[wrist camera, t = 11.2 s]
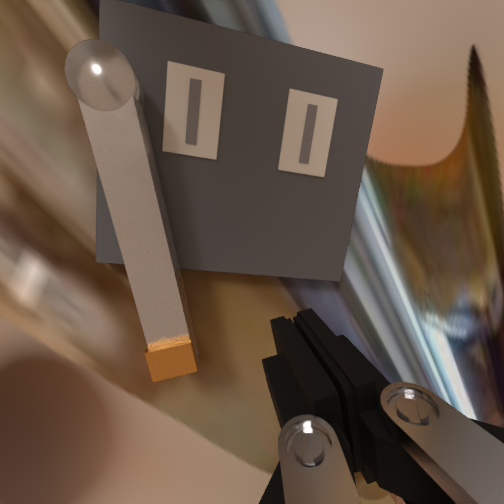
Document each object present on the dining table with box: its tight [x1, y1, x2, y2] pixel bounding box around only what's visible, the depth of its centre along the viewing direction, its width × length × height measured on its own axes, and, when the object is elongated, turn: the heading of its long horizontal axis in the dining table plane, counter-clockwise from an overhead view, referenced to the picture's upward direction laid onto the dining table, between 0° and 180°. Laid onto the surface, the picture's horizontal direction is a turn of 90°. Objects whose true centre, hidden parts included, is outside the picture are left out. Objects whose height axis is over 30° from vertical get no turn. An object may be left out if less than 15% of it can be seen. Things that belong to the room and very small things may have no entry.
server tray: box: [96, 0, 383, 282], centre depth 20 cm, size 18×21×2 cm
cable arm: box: [65, 39, 199, 382], centre depth 17 cm, size 22×4×3 cm, turn 9°
